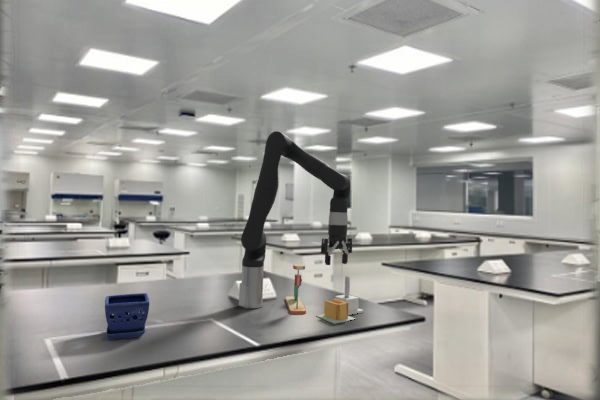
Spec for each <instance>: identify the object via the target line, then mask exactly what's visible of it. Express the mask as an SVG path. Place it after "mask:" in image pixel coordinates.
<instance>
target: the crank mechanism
mask: <svg viewBox="0 0 600 400" xmlns="http://www.w3.org/2000/svg"><path fill="white" fill-rule="evenodd" d="M292 269H293V270H295V271H296V270H297V273H296V274H294V284H293V286H294V287H293V296H292V295H291V296H289V295H287V296H285V298H284V299H285V303H286V305H287V310H288V312H289V314H291V315H306V314H307V309H306V307H305V305H304V303H303V301H302V299H301V297H300V296H299V288H300V287H301V286H302V281H303V279H302V274H301V273H300V270H303V271H304V270H306V265H305V264H300V263H298V264H297V263H295V264H293V265H292Z"/></svg>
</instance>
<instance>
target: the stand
mask: <svg viewBox="0 0 600 400" xmlns="http://www.w3.org/2000/svg"><path fill="white" fill-rule="evenodd" d="M350 285H351V277H350V276H346V275H345V276H344V294H340V295H335V296H334V299H337V300H340V301H343V302H346V303H348V316H351V315H352V314H353V315H358V314H363V313H364V311H365V310H364V309H362V308H359V303H360V302H359V301H360V299H359V298H360V297H357V296H354V295H350V292H351V291H350V290H351V289H350ZM357 313H358V314H357Z"/></svg>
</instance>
